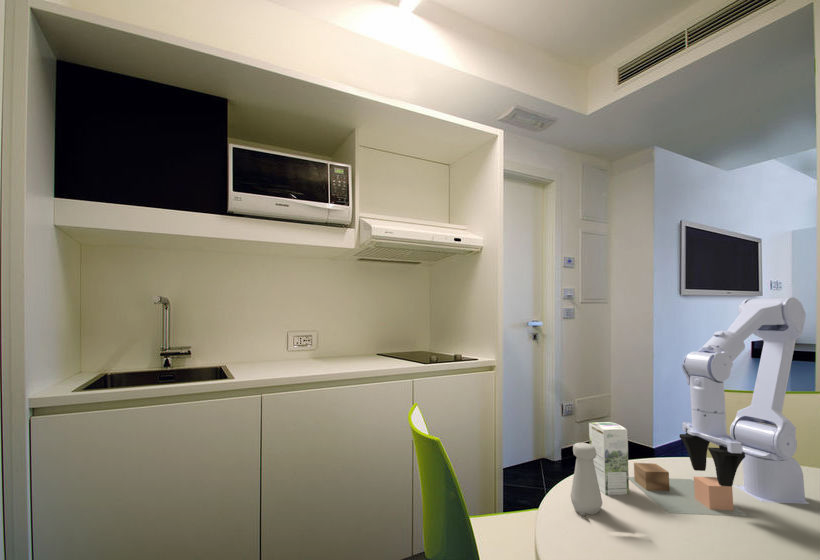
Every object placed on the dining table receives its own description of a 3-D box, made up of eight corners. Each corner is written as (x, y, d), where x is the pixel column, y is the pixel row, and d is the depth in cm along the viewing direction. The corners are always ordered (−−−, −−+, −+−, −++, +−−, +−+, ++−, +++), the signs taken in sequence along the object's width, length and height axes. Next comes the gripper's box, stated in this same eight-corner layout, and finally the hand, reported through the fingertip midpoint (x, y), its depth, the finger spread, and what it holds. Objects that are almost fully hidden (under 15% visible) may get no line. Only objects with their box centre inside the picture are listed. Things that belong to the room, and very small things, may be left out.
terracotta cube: (717, 499, 82) (715, 477, 82) (733, 510, 77) (732, 486, 77) (694, 498, 82) (693, 476, 82) (709, 509, 77) (708, 485, 78)
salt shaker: (596, 505, 80) (594, 440, 81) (607, 520, 74) (605, 449, 75) (566, 503, 80) (565, 439, 81) (575, 518, 75) (574, 448, 76)
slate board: (691, 481, 92) (691, 479, 92) (749, 519, 75) (749, 516, 75) (626, 479, 93) (625, 476, 93) (668, 516, 76) (668, 512, 76)
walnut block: (656, 481, 90) (655, 463, 91) (669, 491, 85) (668, 472, 86) (634, 480, 91) (633, 462, 91) (646, 490, 86) (645, 471, 86)
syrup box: (612, 485, 89) (610, 420, 91) (630, 497, 84) (627, 427, 85) (589, 486, 89) (587, 421, 90) (606, 498, 83) (603, 428, 84)
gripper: (667, 401, 89) (670, 463, 87) (712, 418, 74) (716, 492, 73) (699, 402, 88) (703, 464, 87) (751, 419, 74) (756, 494, 72)
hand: (711, 477), depth 80 cm, fingers open, 7 cm apart
